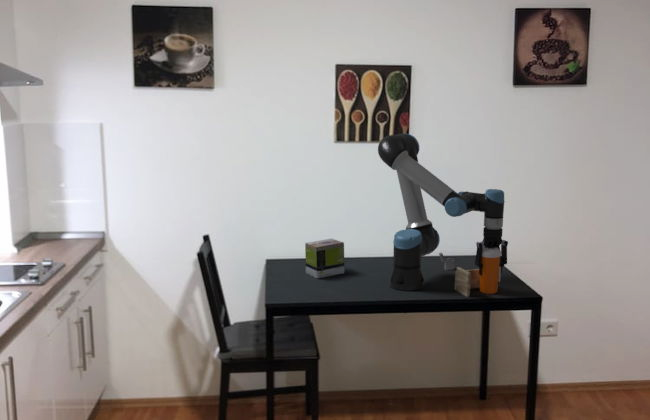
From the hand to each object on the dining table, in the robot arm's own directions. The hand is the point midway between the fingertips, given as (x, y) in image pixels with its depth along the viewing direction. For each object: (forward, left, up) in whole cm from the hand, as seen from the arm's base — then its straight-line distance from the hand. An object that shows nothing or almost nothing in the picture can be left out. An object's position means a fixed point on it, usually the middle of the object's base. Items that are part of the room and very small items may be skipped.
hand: (490, 281), depth 267 cm
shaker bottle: (0, 0, -4) cm, 4 cm away
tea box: (-58, +44, -4) cm, 73 cm away
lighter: (-2, +34, -4) cm, 35 cm away
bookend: (-6, +1, -4) cm, 7 cm away
